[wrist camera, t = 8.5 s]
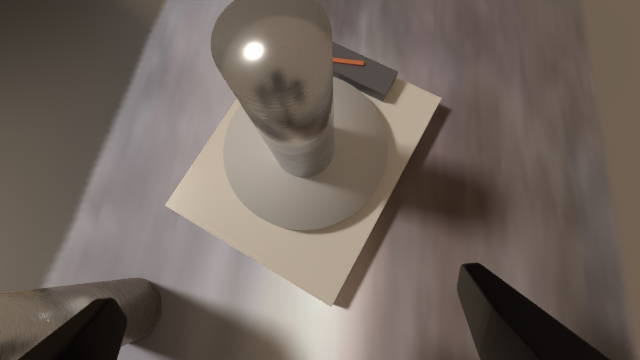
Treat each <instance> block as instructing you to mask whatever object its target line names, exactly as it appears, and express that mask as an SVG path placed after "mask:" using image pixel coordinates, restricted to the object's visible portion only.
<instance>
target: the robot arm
mask: <svg viewBox="0 0 640 360" xmlns="http://www.w3.org/2000/svg"><path fill="white" fill-rule="evenodd" d="M457 292H458V296H459V299H460V302H461V305H462V308H463V311H464V314H465V317H466V320H467V323H468V326H469V329H470V332H471V334H472V337H473V340H474V343H475V346H476V349H477V352H478V355H479V357H480V359H481V360H611V359H609V358H608V357H606V356H605V355H604V354H602V353H601V352H600V351H598V350H597V349H596V348H594V347H593V346H591V345H590V344H589V343H587V342H586V341H585V340H583V339H582V338H581V337H579V336H578V335H577V334H575V333H574V332H572V331H571V330H570V329H568V328H567V327H566V326H564V325H563V324H562V323H560V322H559V321H557V320H556V319H555V318H553V317H552V316H551V315H549V314H548V313H547V312H545V311H544V310H542V309H541V308H540V307H538V306H537V305H536V304H534V303H533V302H532V301H530V300H529V299H528V298H526V297H525V296H523V295H522V294H521V293H519V292H518V291H517V290H515V289H514V288H513V287H511V286H510V285H508V284H507V283H506V282H504V281H503V280H502V279H500V278H499V277H498V276H496V275H495V274H493V273H492V272H491V271H489V270H488V269H487V268H485V267H484V266H483V265H481V264H479V263H467V264H462V265H461V267H460V271H459V277H458V283H457ZM127 322H128V321H127V316H126V314H125V313H124V311H123V310H122V308H121V307H120V305H119V304H118V302H117V301H116V299H114V298H112V297H108V298H98V299H95V300H94V301H92V302H91V303H90V304H88V305H87V306H86V307H84V308H83V309H82V310H81V311H79V312H78V313H77V314H75V315H74V316H73V317H71V318H70V319H69V320H68V321H66V322H65V323H64V324H62V325H61V326H60V327H59V328H57V329H56V330H55V331H53V332H52V333H51V334H50V335H48V336H47V337H46V338H44V339H43V340H42V341H41V342H39V343H38V344H37V345H35V346H34V347H33V348H32V349H30V350H29V351H28V352H26V353H25V354H24V355H23V356H21V357H20V358H19V359H17V360H117V357H118V354H119V351H120V347H121V344H122V341H123V338H124V334H125V331H126V328H127Z"/></svg>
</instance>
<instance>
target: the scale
mask: <svg viewBox="0 0 640 360" xmlns="http://www.w3.org/2000/svg"><path fill="white" fill-rule="evenodd" d="M332 59H333V102H334V144H335V149H334V156H333V159H332V161H331V163H330V164H329V166H328V167H327V168H326V169H325V170H324V171H322V172H321V173H319V174H317V175H315V176H312V177H305V178H303V177H296V176H293V175H290V174H289V173H287V172H286V171H284V170H283V169H282V168H281V167H280V165H279V164H278V162H277V160H276V159H275V157H274V156H273V154H272V153H271V151H270V149H269V148H268V146H267V145H266V143H265V142H264V140H263V138H262V137H261V135H260V134H259V132H258V131H257V129H256V127H255V126H254V124H253V123H252V121H251V120H250V118H249V116H248V115H247V113H246V112H245V110H244V109H243V107H242V105H241V104H240V102H239V101H238V99H236V100H235V102H234V103H233V105H232V106H231V108H230V109H229V111H228V112H227V114H226V115H225V117H224V118H223V120H222V121H221V123H220V124H219V126H218V127H217V129H216V130H215V132H214V133H213V134H212V136H211V137H210V139H209V140H208V142H207V143H206V145H205V146H204V148H203V149H202V151H201V152H200V154H199V155H198V157H197V158H196V160H195V161H194V163H193V164H192V166H191V167H190V169H189V170H188V172H187V173H186V175H185V176H184V178H183V179H182V181H181V182H180V184H179V185H178V187H177V188H176V190H175V191H174V193H173V194H172V196H171V197H170V199H169V200H168V202H167V203H166V205H165V206H167V207H169V208H170V209H172V210H174V211H175V212H177V213H178V214H180V215H182V216H183V217H185V218H187V219H188V220H190V221H192V222H193V223H195V224H196V225H198V226H200V227H201V228H203V229H205V230H206V231H208V232H210V233H211V234H213V235H214V236H216V237H218V238H219V239H221V240H223V241H224V242H226V243H228V244H229V245H231V246H232V247H234V248H236V249H237V250H239V251H241V252H242V253H244V254H245V255H247V256H249V257H250V258H252V259H254V260H255V261H257V262H259V263H260V264H262V265H263V266H265V267H267V268H268V269H270V270H272V271H273V272H275V273H277V274H278V275H280V276H281V277H283V278H285V279H286V280H288V281H290V282H291V283H293V284H295V285H296V286H298V287H299V288H301V289H303V290H304V291H306V292H308V293H309V294H311V295H313V296H314V297H316V298H317V299H319V300H321V301H322V302H324V303H326V304H327V305H329V306H331V307H332V305H333V303H334V301H335V299H336V297H337V295H338V293H339V291H340V290H341V288H342V286H343V284H344V282H345V280H346V278H347V276H348V274H349V272H350V271H351V269H352V267H353V265H354V263H355V261H356V259H357V257H358V255H359V254H360V252H361V250H362V248H363V246H364V244H365V242H366V240H367V238H368V237H369V235H370V233H371V231H372V229H373V227H374V225H375V223H376V221H377V219H378V218H379V216H380V214H381V212H382V210H383V208H384V206H385V204H386V202H387V201H388V199H389V197H390V195H391V193H392V191H393V189H394V187H395V185H396V183H397V182H398V180H399V178H400V176H401V174H402V172H403V170H404V168H405V166H406V165H407V163H408V161H409V159H410V157H411V155H412V153H413V151H414V149H415V148H416V146H417V144H418V142H419V140H420V138H421V136H422V134H423V132H424V130H425V129H426V127H427V125H428V123H429V121H430V119H431V117H432V115H433V113H434V112H435V110H436V108H437V106H438V104H439V102H440V100H441V98H440V97H438V96H436V95H434V94H431V93H429V92H427V91H425V90H423V89H421V88H418V87H416V86H414V85H412V84H410V83H408V82H405V81H403V80H401V79H399V78H397V77H396V76H397V73H398V72H397V71H395V70H393V69H391V68H388V67H386V66H384V65H382V64H380V63H378V62H375V61H373V60H371V59H369V58H367V57H364V56H362V55H360V54H358V53H356V52H354V51H351V50H349V49H347V48H345V47H343V46H340V45H338V44H336V43H334V42H332Z"/></svg>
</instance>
